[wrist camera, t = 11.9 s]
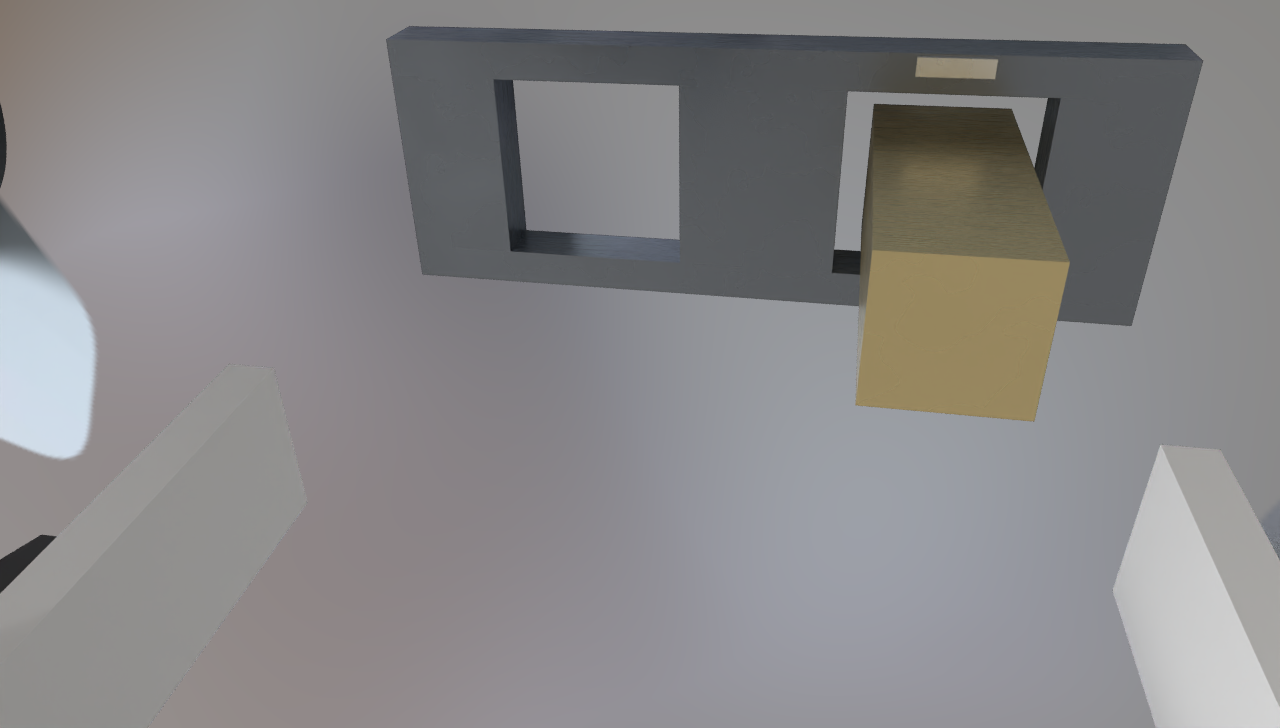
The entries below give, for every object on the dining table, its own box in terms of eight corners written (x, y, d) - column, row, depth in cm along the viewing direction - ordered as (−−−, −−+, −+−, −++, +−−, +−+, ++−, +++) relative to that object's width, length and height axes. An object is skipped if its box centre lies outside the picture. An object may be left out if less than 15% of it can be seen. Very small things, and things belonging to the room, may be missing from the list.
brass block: (861, 225, 36) (855, 405, 26) (873, 103, 34) (872, 250, 24) (989, 232, 35) (1034, 421, 25) (1011, 108, 33) (1069, 262, 23)
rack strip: (441, 252, 40) (421, 275, 39) (409, 26, 36) (385, 40, 34) (1119, 299, 36) (1132, 327, 34) (1185, 44, 31) (1204, 61, 29)
